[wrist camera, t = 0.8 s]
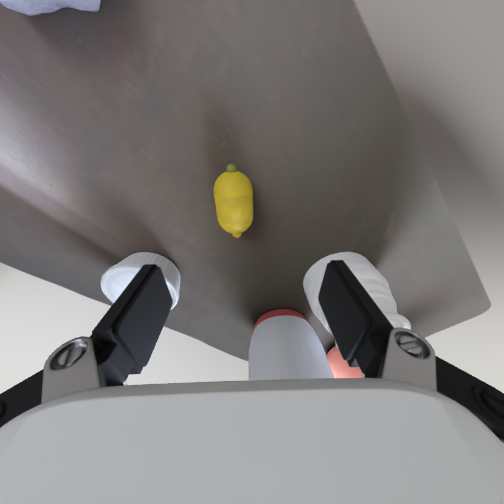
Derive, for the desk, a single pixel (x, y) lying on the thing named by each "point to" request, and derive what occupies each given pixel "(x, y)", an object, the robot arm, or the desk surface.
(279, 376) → the citrus juicer
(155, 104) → the desk surface
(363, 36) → the desk surface
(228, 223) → the lemon
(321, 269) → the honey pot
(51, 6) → the stone block
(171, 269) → the ramekin
